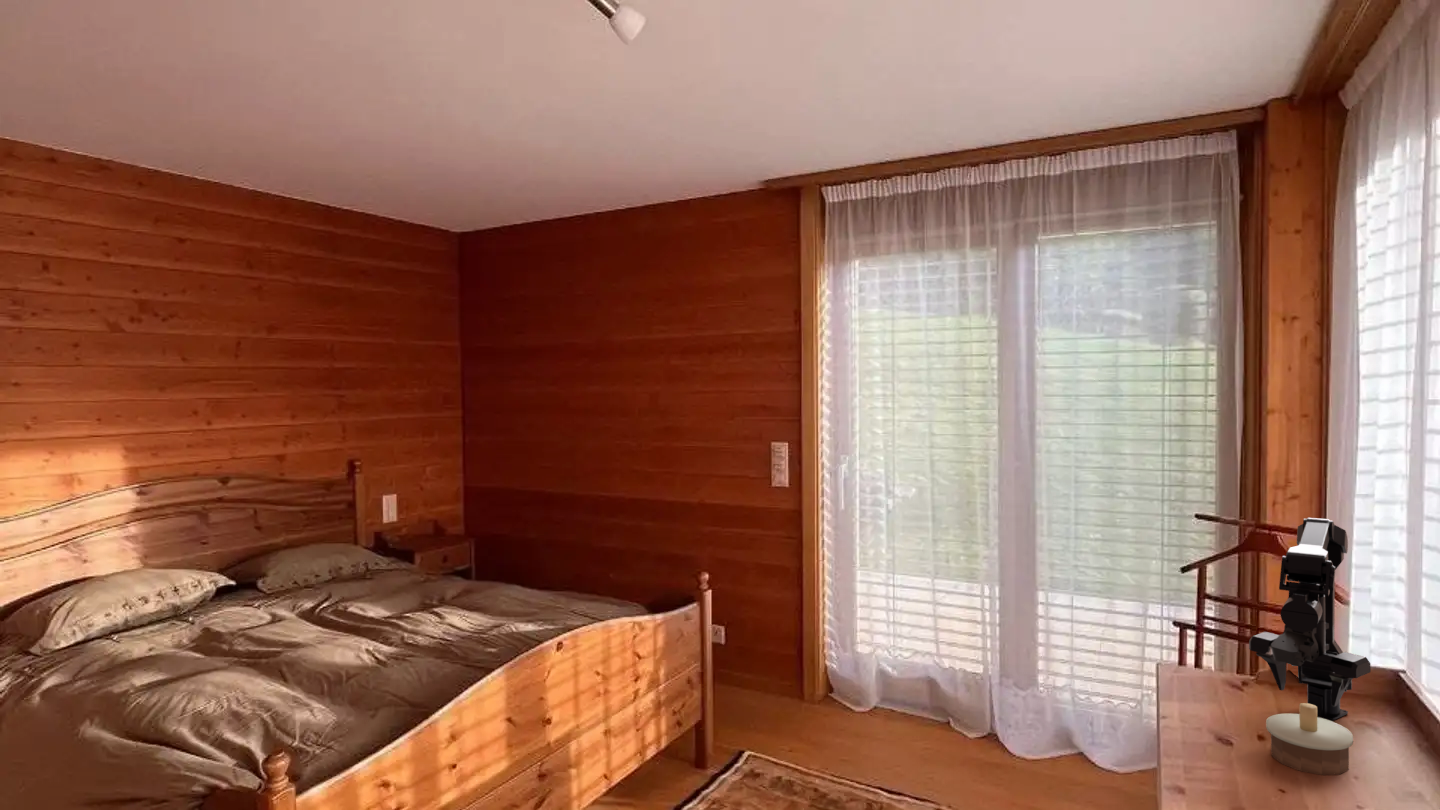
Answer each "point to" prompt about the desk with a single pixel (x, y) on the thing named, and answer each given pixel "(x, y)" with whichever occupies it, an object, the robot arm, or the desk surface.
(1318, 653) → the robot arm
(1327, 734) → the lid
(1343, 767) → the box
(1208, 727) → the desk surface
